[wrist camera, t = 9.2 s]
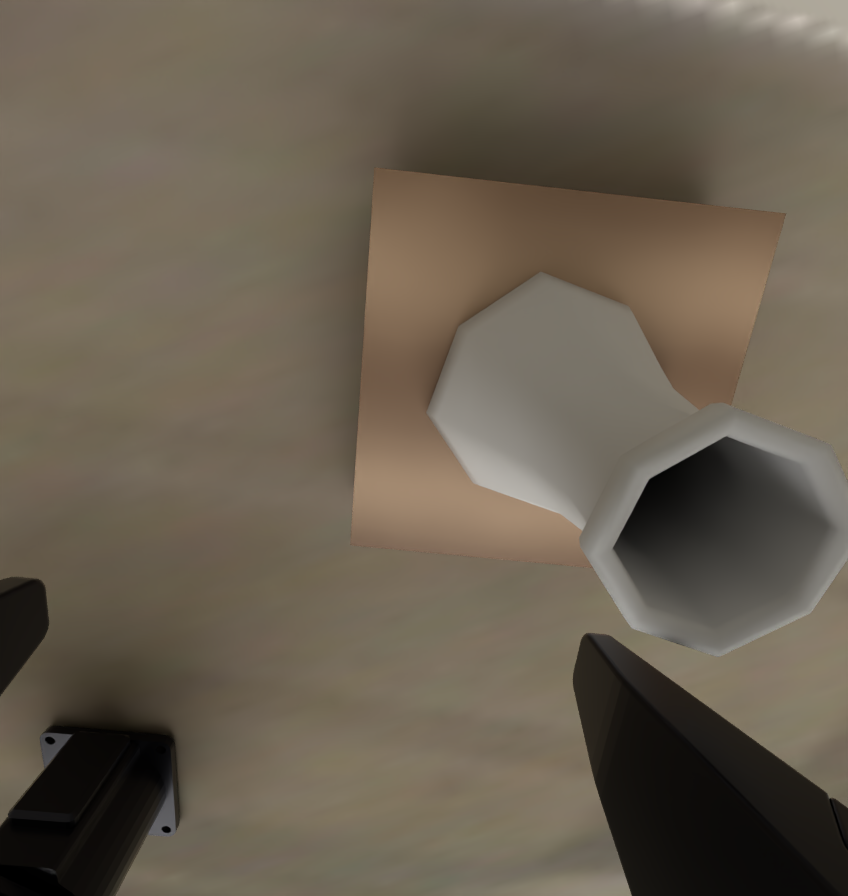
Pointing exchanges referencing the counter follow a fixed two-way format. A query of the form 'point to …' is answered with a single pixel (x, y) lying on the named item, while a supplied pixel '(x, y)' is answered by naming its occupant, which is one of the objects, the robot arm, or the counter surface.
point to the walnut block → (493, 276)
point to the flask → (643, 468)
